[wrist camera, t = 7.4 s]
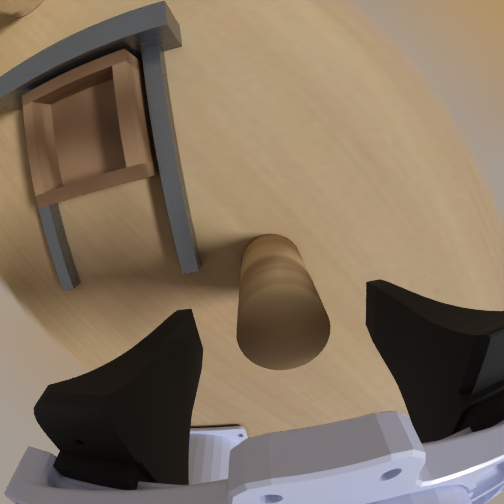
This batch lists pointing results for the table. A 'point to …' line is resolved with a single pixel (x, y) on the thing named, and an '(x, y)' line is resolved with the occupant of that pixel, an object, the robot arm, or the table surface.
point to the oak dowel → (279, 306)
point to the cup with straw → (18, 7)
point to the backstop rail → (152, 52)
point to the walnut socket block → (88, 129)
